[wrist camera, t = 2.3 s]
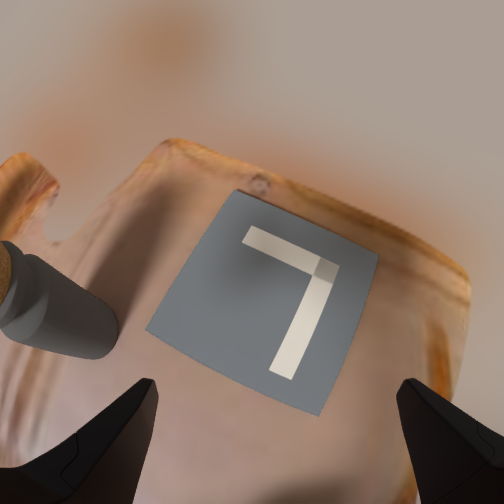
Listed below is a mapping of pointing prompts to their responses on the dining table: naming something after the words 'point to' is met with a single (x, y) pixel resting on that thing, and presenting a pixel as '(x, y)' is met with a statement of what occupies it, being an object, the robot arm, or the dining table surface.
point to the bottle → (51, 308)
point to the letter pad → (268, 302)
